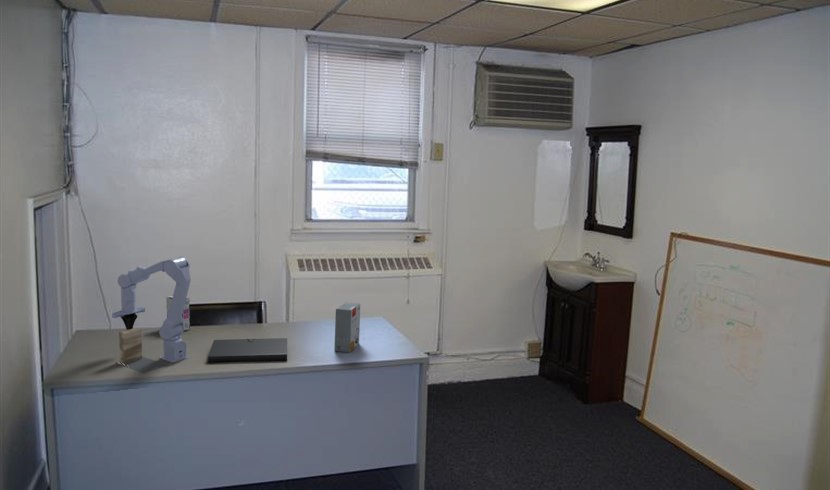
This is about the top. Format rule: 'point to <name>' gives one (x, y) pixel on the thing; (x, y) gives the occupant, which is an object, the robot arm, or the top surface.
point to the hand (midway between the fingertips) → (129, 330)
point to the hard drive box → (347, 327)
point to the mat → (145, 364)
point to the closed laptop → (248, 350)
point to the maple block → (130, 345)
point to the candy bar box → (184, 315)
